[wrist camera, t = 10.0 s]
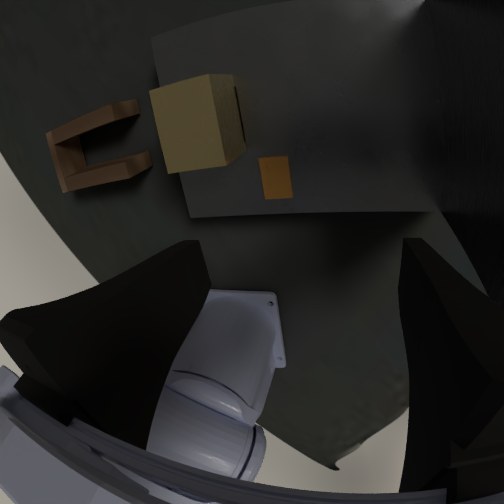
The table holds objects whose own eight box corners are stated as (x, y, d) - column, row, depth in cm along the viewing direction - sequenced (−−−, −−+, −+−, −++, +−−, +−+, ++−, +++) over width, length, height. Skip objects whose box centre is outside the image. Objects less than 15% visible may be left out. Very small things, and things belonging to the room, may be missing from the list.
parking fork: (152, 165, 22) (129, 178, 19) (85, 180, 24) (62, 192, 22) (136, 98, 19) (110, 103, 17) (70, 125, 22) (45, 133, 19)
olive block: (258, 141, 19) (226, 165, 14) (213, 147, 20) (168, 173, 15) (247, 75, 17) (208, 73, 12) (200, 85, 18) (149, 90, 13)
